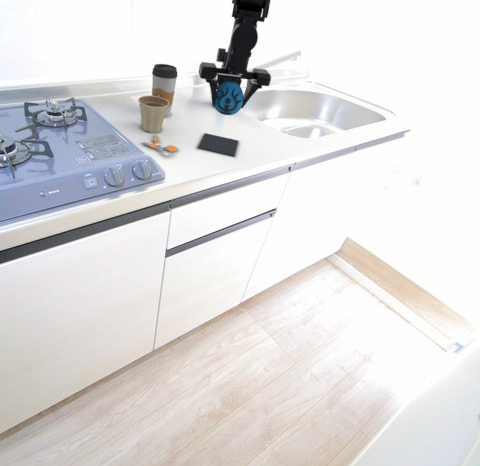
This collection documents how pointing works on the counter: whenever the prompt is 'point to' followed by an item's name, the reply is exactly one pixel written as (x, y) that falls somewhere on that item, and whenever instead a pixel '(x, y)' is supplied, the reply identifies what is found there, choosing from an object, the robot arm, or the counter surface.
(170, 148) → the key chain
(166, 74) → the coffee cup
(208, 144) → the mat
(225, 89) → the ornament
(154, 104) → the flower pot
